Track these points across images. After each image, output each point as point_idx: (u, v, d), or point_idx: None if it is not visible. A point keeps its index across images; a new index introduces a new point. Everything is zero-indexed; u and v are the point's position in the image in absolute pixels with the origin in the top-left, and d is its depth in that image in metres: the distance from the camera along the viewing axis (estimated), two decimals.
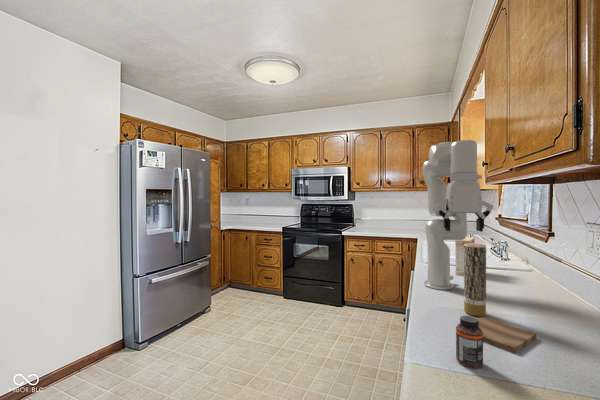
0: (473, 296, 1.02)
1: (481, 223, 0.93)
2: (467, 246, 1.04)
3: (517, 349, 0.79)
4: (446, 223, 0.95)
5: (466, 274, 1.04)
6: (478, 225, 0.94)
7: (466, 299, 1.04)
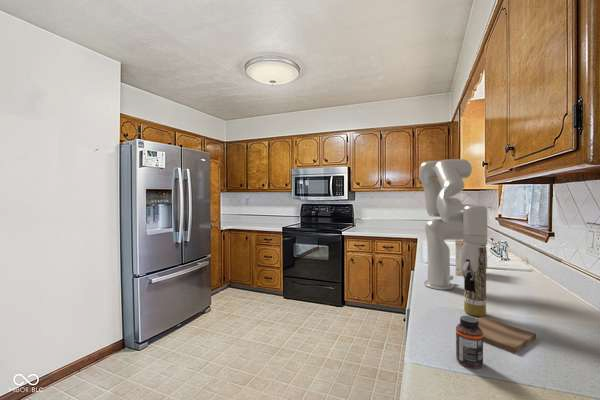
0: (473, 296, 1.02)
1: None
2: None
3: (517, 349, 0.79)
4: (471, 284, 1.02)
5: None
6: None
7: (466, 299, 1.04)
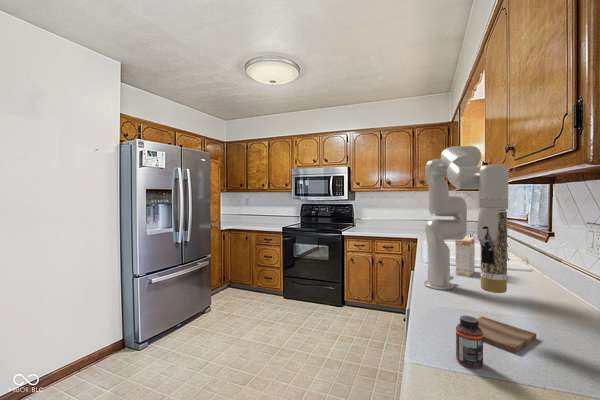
0: (492, 269, 0.87)
1: None
2: None
3: (517, 349, 0.79)
4: (489, 256, 0.87)
5: None
6: None
7: (483, 273, 0.89)
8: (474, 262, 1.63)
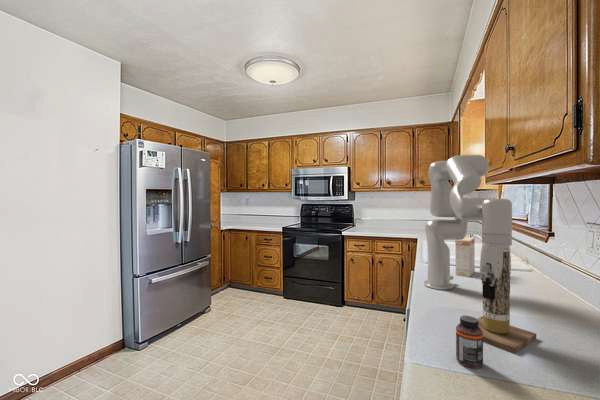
0: (494, 310, 0.86)
1: None
2: None
3: (517, 349, 0.79)
4: (490, 291, 0.84)
5: None
6: None
7: (486, 313, 0.88)
8: (474, 262, 1.63)
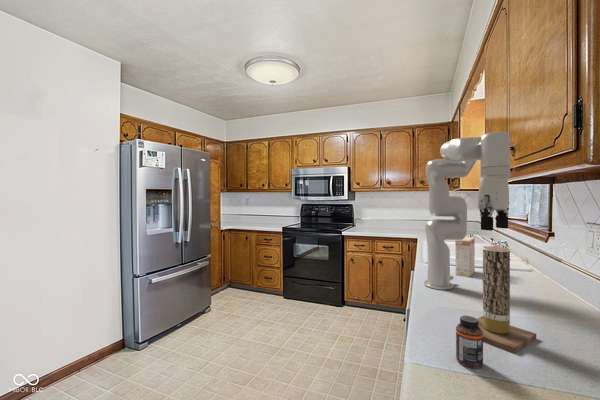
0: (495, 310, 0.86)
1: (507, 220, 0.90)
2: (487, 250, 0.87)
3: (517, 349, 0.79)
4: (489, 222, 0.85)
5: (486, 283, 0.88)
6: (501, 222, 0.91)
7: (486, 313, 0.88)
8: (474, 262, 1.63)
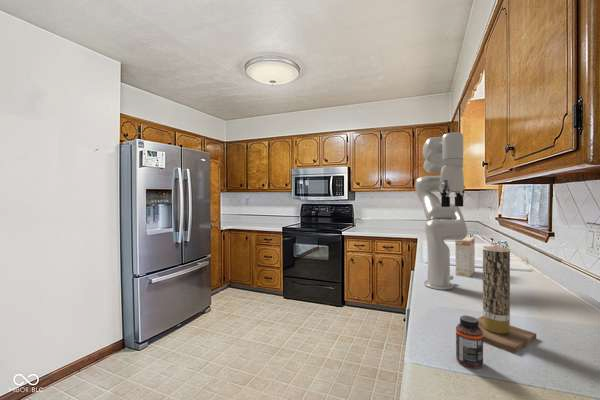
0: (495, 310, 0.86)
1: (462, 200, 1.18)
2: (487, 250, 0.87)
3: (517, 349, 0.79)
4: (446, 200, 1.13)
5: (486, 283, 0.88)
6: (458, 202, 1.19)
7: (486, 313, 0.88)
8: (474, 262, 1.63)
